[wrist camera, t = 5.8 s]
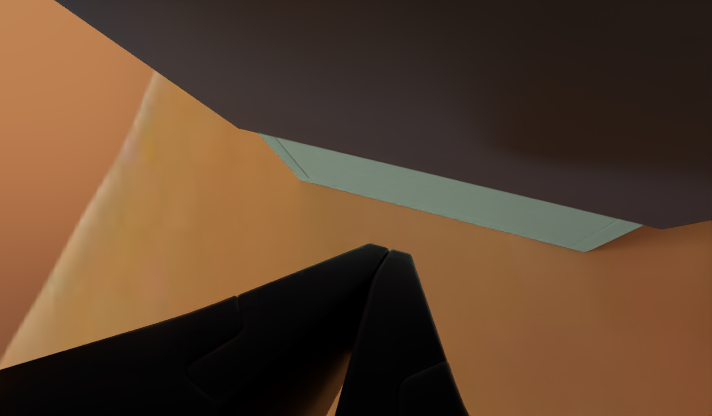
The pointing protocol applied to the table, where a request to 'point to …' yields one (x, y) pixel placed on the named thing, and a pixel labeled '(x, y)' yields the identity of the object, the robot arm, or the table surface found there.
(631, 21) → the dark flat rectangular panel
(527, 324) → the table surface
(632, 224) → the sage green storage tray
